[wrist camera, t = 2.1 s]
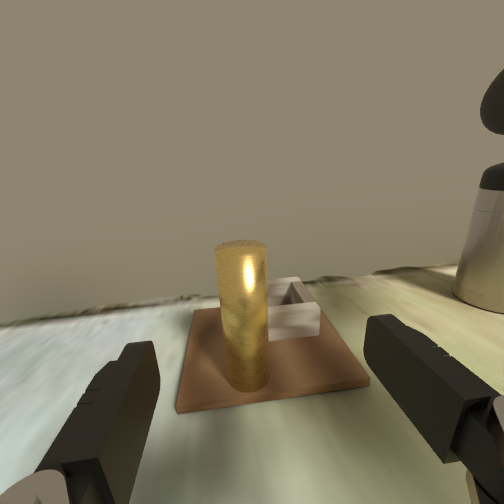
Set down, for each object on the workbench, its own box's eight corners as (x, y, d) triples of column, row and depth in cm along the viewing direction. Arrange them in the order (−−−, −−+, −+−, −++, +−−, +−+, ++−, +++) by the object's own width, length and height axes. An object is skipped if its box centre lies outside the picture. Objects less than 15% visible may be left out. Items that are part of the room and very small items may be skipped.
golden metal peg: (265, 356, 27) (261, 238, 22) (273, 389, 23) (270, 254, 18) (227, 361, 27) (215, 242, 22) (228, 396, 22) (213, 258, 18)
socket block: (312, 302, 39) (313, 275, 37) (369, 385, 24) (375, 345, 22) (195, 315, 37) (191, 287, 35) (177, 414, 22) (168, 372, 20)
